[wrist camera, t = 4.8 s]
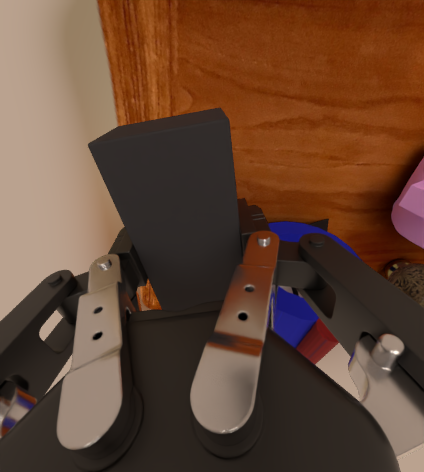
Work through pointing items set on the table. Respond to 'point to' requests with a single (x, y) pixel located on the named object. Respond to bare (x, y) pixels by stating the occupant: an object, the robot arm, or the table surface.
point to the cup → (407, 278)
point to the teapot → (411, 208)
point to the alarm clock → (302, 301)
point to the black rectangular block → (177, 202)
